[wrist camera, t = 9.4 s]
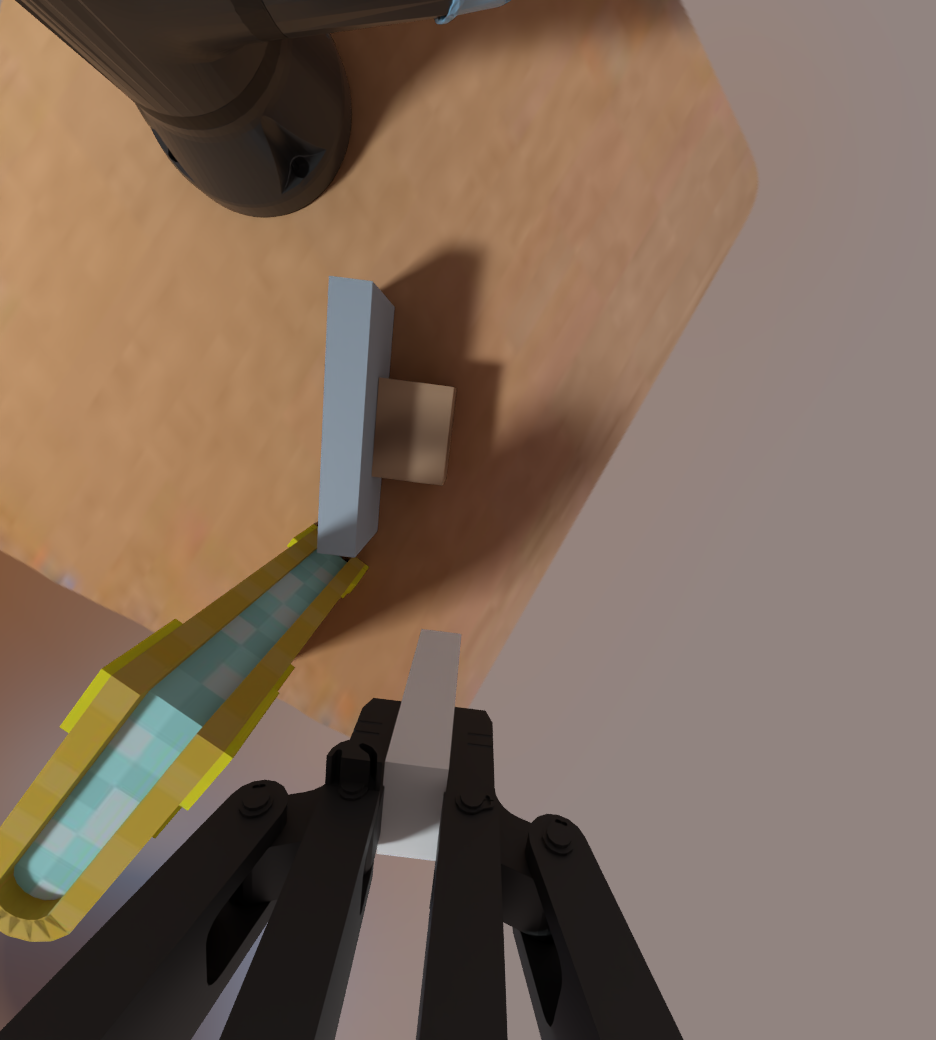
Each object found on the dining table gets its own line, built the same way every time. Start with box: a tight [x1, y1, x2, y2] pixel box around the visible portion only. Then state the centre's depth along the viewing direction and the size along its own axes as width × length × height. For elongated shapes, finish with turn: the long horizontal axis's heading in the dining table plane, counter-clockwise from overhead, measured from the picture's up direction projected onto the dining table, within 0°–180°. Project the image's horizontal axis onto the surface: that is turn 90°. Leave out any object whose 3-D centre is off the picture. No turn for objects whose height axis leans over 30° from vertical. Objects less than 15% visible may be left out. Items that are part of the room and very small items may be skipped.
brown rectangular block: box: [372, 377, 457, 486], centre depth 39 cm, size 8×6×4 cm
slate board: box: [317, 276, 395, 558], centre depth 37 cm, size 20×3×8 cm, turn 173°
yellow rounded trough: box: [0, 524, 369, 942], centre depth 34 cm, size 17×7×25 cm, turn 140°
